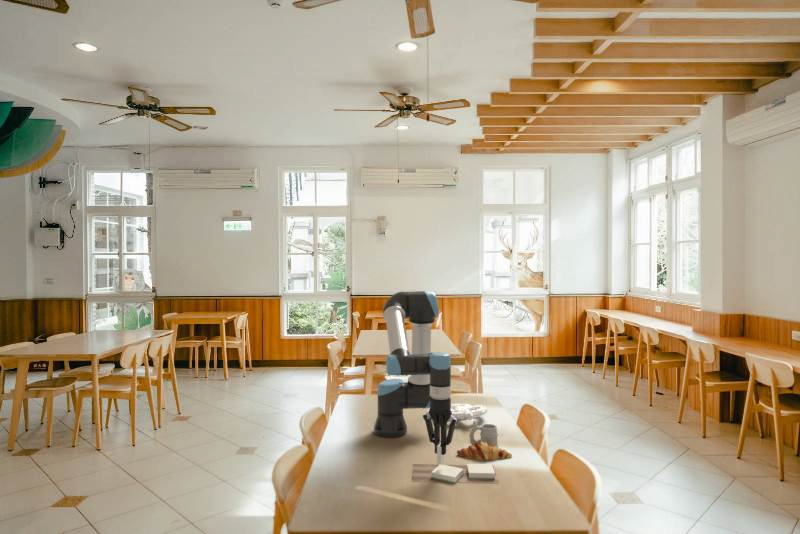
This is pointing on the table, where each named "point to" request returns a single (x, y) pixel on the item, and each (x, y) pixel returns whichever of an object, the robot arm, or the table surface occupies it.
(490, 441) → the mug
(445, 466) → the tile
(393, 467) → the table surface
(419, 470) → the board
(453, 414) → the white flat coiled piece
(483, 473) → the tile
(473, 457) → the croissant
